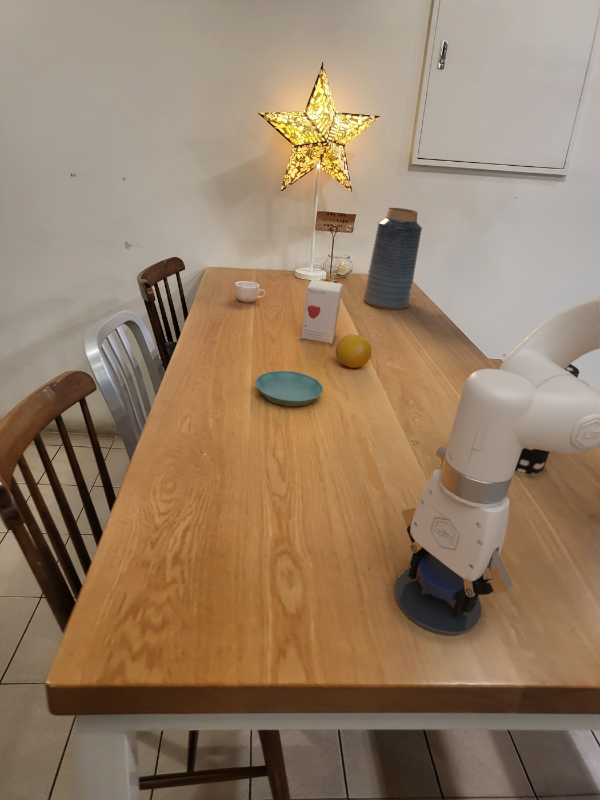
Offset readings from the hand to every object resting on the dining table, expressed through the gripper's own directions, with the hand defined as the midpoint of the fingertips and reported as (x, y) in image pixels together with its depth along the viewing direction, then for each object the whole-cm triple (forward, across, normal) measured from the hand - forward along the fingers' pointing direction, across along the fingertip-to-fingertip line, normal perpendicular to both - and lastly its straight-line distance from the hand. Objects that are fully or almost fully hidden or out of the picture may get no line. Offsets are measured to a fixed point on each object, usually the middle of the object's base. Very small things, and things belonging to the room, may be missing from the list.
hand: (439, 591), depth 69 cm
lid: (-3, 0, 0) cm, 3 cm away
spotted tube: (+2, -13, +42) cm, 44 cm away
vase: (+2, -99, +93) cm, 136 cm away
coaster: (+2, 0, 0) cm, 2 cm away
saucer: (+2, -56, +18) cm, 59 cm away
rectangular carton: (+2, -82, +48) cm, 95 cm away
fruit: (+2, -62, +42) cm, 75 cm away
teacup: (+2, -117, +48) cm, 126 cm away
